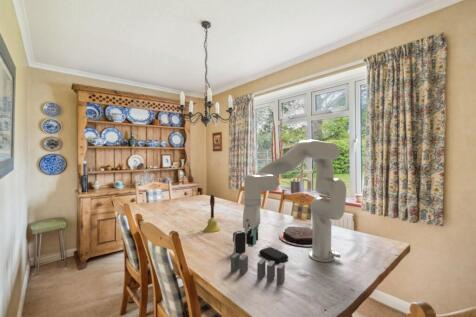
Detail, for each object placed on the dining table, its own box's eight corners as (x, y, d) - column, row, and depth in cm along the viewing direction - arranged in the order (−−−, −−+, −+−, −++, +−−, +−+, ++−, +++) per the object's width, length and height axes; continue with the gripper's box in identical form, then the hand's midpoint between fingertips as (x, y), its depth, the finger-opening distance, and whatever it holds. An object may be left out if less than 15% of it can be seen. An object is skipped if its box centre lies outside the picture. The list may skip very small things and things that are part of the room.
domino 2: (247, 270, 109) (247, 255, 109) (243, 275, 105) (243, 259, 105) (244, 269, 110) (244, 254, 110) (239, 274, 106) (239, 258, 106)
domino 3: (247, 246, 103) (247, 230, 103) (252, 242, 108) (252, 227, 108) (252, 247, 103) (252, 231, 102) (256, 243, 107) (256, 228, 107)
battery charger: (242, 249, 133) (242, 229, 133) (246, 251, 130) (246, 231, 130) (231, 251, 130) (231, 231, 129) (235, 254, 126) (235, 233, 126)
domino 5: (274, 277, 103) (274, 261, 103) (271, 282, 99) (271, 266, 99) (270, 275, 104) (270, 260, 104) (266, 281, 100) (266, 265, 100)
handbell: (201, 231, 163) (200, 196, 162) (207, 226, 175) (207, 193, 174) (217, 233, 160) (217, 197, 160) (223, 227, 172) (223, 194, 172)
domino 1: (239, 268, 111) (239, 253, 111) (234, 272, 107) (234, 257, 107) (235, 267, 112) (235, 252, 112) (230, 271, 108) (230, 257, 108)
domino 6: (284, 279, 101) (284, 263, 101) (281, 285, 97) (281, 268, 97) (280, 278, 102) (280, 262, 102) (276, 284, 98) (276, 267, 98)
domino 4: (265, 274, 105) (265, 259, 105) (261, 280, 101) (261, 264, 101) (261, 273, 106) (261, 258, 106) (257, 278, 102) (257, 263, 102)
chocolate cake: (328, 250, 133) (328, 238, 133) (278, 246, 139) (278, 235, 139) (320, 233, 161) (320, 224, 161) (279, 230, 166) (279, 221, 166)
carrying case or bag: (291, 259, 121) (271, 250, 133) (291, 254, 121) (271, 245, 133) (276, 265, 115) (257, 255, 127) (276, 259, 115) (257, 249, 127)
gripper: (252, 198, 114) (252, 235, 114) (236, 204, 99) (236, 247, 99) (266, 199, 111) (266, 237, 111) (252, 206, 96) (252, 250, 96)
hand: (252, 241), depth 105 cm, fingers closed on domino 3, 4 cm apart
